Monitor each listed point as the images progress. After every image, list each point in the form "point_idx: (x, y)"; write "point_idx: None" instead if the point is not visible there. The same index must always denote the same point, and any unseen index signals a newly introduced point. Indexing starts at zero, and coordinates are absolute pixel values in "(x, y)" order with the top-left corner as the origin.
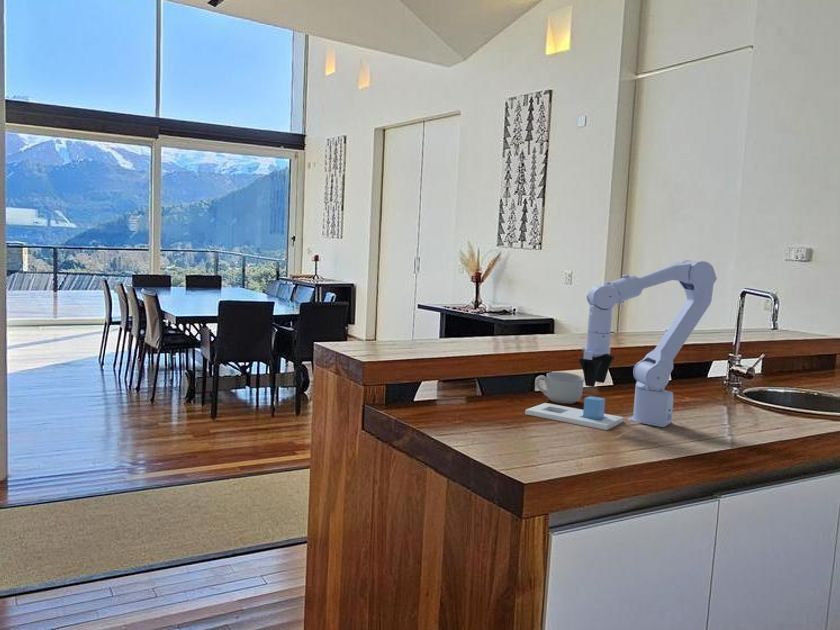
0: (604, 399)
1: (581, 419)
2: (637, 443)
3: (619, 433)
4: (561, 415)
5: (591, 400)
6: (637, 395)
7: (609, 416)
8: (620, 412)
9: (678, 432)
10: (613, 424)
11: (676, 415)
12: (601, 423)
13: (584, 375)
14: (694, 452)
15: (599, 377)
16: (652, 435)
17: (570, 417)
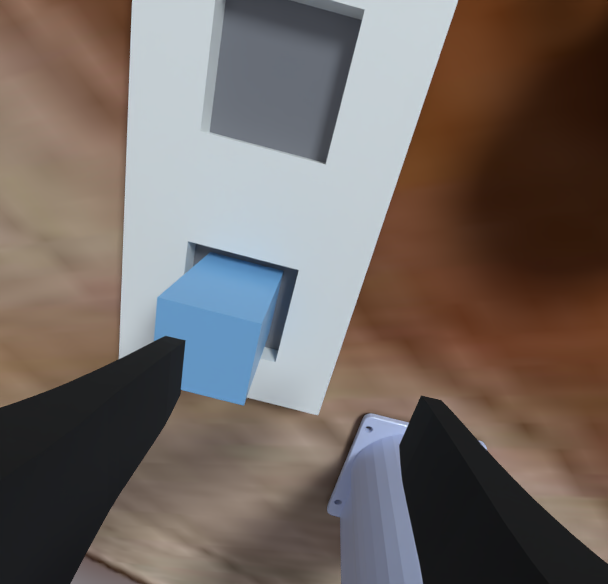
0: (232, 400)
1: (140, 259)
2: None
3: None
4: (152, 146)
5: (155, 336)
6: (387, 547)
7: (294, 365)
8: (544, 383)
9: (293, 534)
10: None
11: None
12: (132, 344)
13: (86, 378)
14: (90, 545)
15: (422, 452)
16: (198, 475)
17: (142, 201)
